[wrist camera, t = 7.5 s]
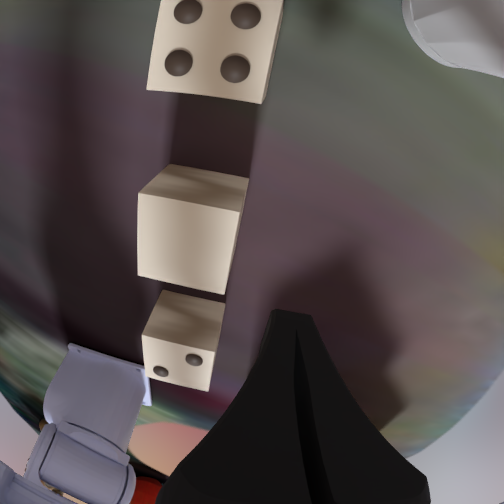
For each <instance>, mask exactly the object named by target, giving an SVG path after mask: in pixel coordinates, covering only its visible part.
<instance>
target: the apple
mask: <svg viewBox="0 0 504 504" xmlns="http://www.w3.org/2000/svg"><path fill="white" fill-rule="evenodd" d="M161 488H162V485H161V483H160V482H159V481H158V480H156V479H153V478H149V477H142V476H141V477H136V486H135V490H134V494H133V497H132V499H131V501H130V503H129V504H155V501H156V497H157V495H158V493H159V491H160V489H161Z"/></svg>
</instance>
